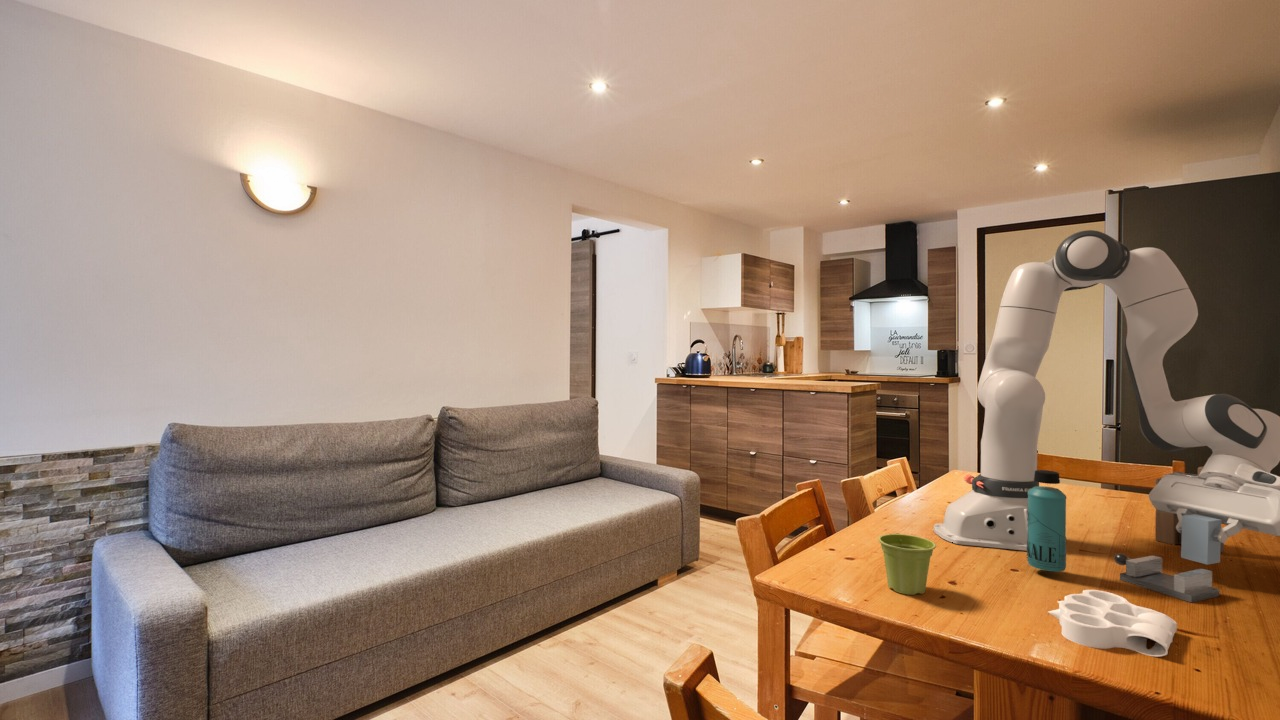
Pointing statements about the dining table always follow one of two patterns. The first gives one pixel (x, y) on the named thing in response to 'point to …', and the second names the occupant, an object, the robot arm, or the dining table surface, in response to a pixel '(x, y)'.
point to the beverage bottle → (1046, 524)
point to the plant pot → (906, 562)
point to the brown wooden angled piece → (1170, 525)
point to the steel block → (1200, 539)
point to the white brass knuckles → (1113, 623)
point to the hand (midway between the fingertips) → (1199, 535)
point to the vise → (1178, 584)
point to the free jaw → (1140, 565)
